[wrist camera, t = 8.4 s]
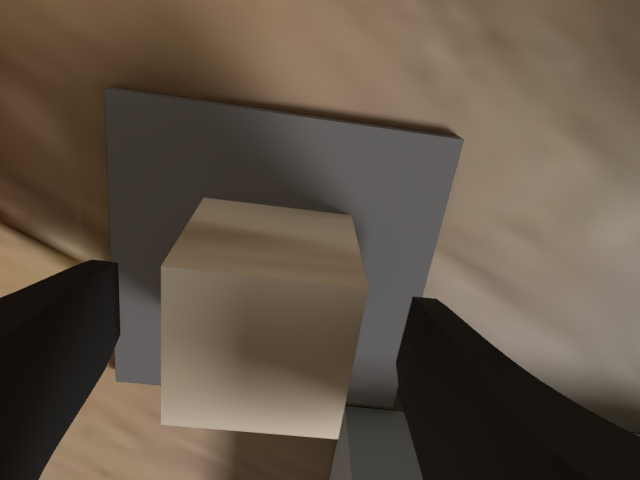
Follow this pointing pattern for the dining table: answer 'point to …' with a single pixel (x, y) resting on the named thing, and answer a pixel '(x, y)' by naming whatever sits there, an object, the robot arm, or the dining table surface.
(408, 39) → the dining table surface
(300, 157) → the mat
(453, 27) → the dining table surface
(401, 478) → the slot box
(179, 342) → the block
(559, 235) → the dining table surface
